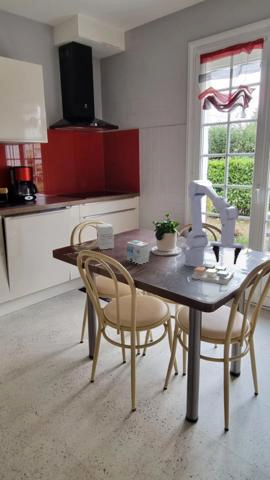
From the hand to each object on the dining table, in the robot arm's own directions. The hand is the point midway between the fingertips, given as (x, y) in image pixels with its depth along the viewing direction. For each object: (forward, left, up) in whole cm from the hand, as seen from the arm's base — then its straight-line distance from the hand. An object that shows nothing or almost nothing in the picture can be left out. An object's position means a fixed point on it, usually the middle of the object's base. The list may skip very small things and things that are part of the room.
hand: (226, 262), depth 149 cm
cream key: (-6, -1, -6) cm, 9 cm away
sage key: (-4, +5, -6) cm, 8 cm away
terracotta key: (-12, -1, -6) cm, 13 cm away
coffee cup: (-31, +45, -9) cm, 55 cm away
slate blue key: (-1, -1, -6) cm, 6 cm away
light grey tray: (-6, +2, -8) cm, 11 cm away
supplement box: (-80, +18, -9) cm, 83 cm away
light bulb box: (-49, +5, -9) cm, 50 cm away
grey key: (-9, +5, -6) cm, 12 cm away
